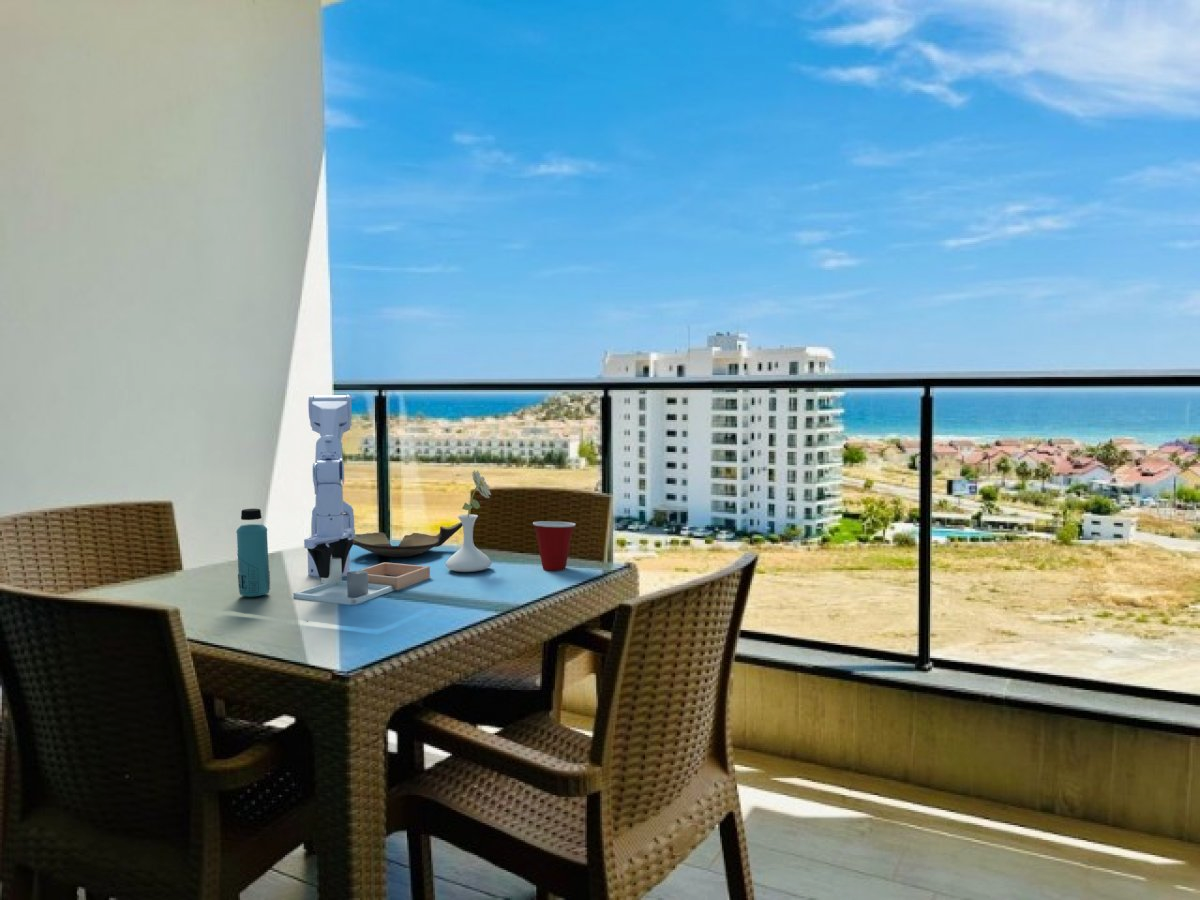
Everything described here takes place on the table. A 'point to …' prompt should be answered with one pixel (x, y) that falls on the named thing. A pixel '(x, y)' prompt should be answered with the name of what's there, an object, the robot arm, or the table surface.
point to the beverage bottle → (253, 556)
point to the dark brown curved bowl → (404, 542)
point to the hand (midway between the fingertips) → (331, 575)
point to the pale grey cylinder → (334, 571)
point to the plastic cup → (554, 543)
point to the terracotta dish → (397, 574)
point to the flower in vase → (470, 536)
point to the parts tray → (341, 593)
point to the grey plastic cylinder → (357, 583)
